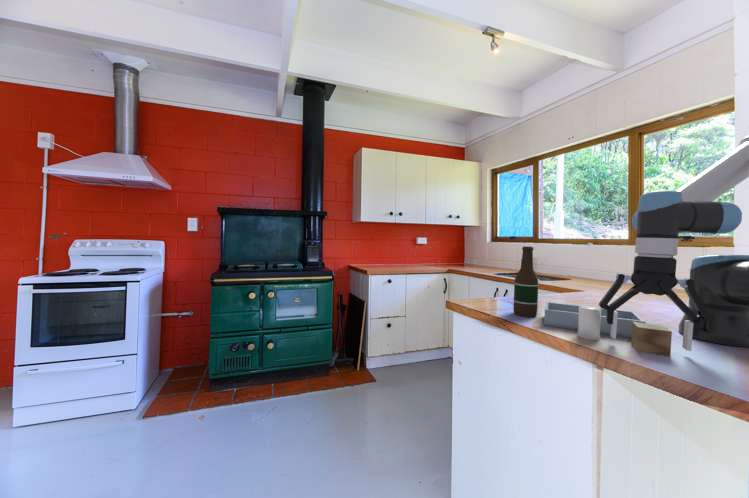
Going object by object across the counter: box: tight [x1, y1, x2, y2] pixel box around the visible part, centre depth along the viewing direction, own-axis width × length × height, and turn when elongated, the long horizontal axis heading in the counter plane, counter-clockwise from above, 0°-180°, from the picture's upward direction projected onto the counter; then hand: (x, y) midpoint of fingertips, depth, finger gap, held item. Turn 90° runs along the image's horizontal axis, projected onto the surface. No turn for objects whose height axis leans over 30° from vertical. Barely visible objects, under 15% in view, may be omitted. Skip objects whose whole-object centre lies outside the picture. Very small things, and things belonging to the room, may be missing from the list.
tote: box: [543, 301, 646, 339], centre depth 93 cm, size 24×14×5 cm, turn 59°
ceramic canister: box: [577, 305, 601, 341], centre depth 83 cm, size 5×5×8 cm
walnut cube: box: [630, 322, 673, 358], centre depth 74 cm, size 6×6×6 cm
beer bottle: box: [513, 246, 539, 318], centre depth 107 cm, size 8×8×24 cm
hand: (648, 342), depth 74 cm, fingers open, 13 cm apart
